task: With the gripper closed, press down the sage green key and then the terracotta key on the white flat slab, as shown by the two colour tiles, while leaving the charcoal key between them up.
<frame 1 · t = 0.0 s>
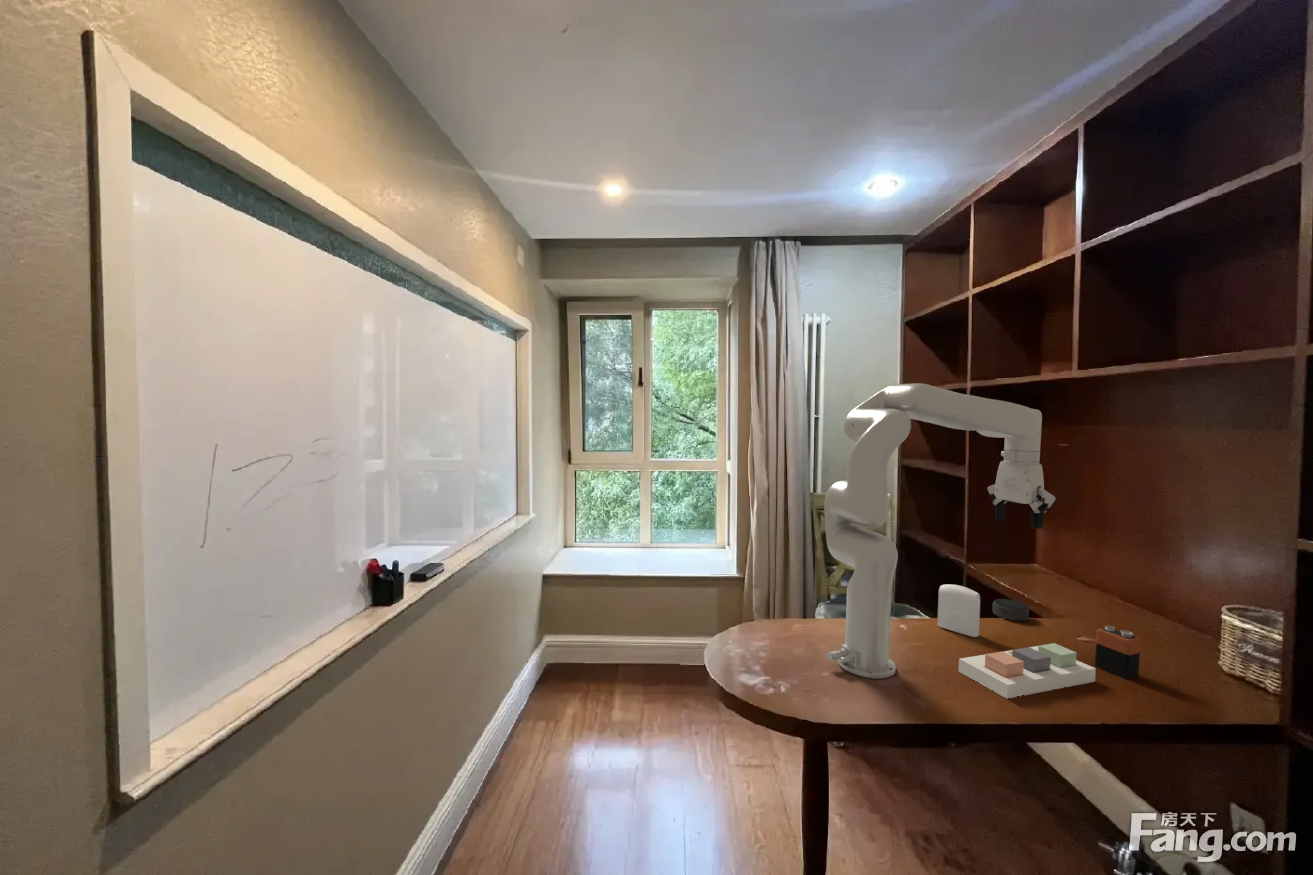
hand: (1017, 524, 136), 31 cm above the table, tool pointing down, fingers open, 9 cm apart
battery: (1115, 672, 124), on the table
terracotta key: (1003, 664, 117), point 4 cm above the table, slide at 0.0 cm
charcoal key: (1030, 660, 119), point 4 cm above the table, slide at 0.0 cm
sage key: (1056, 655, 122), point 4 cm above the table, slide at 0.0 cm
smart speaker: (1010, 617, 156), on the table
photo printer: (957, 631, 145), on the table
white flat slab: (1025, 676, 120), on the table
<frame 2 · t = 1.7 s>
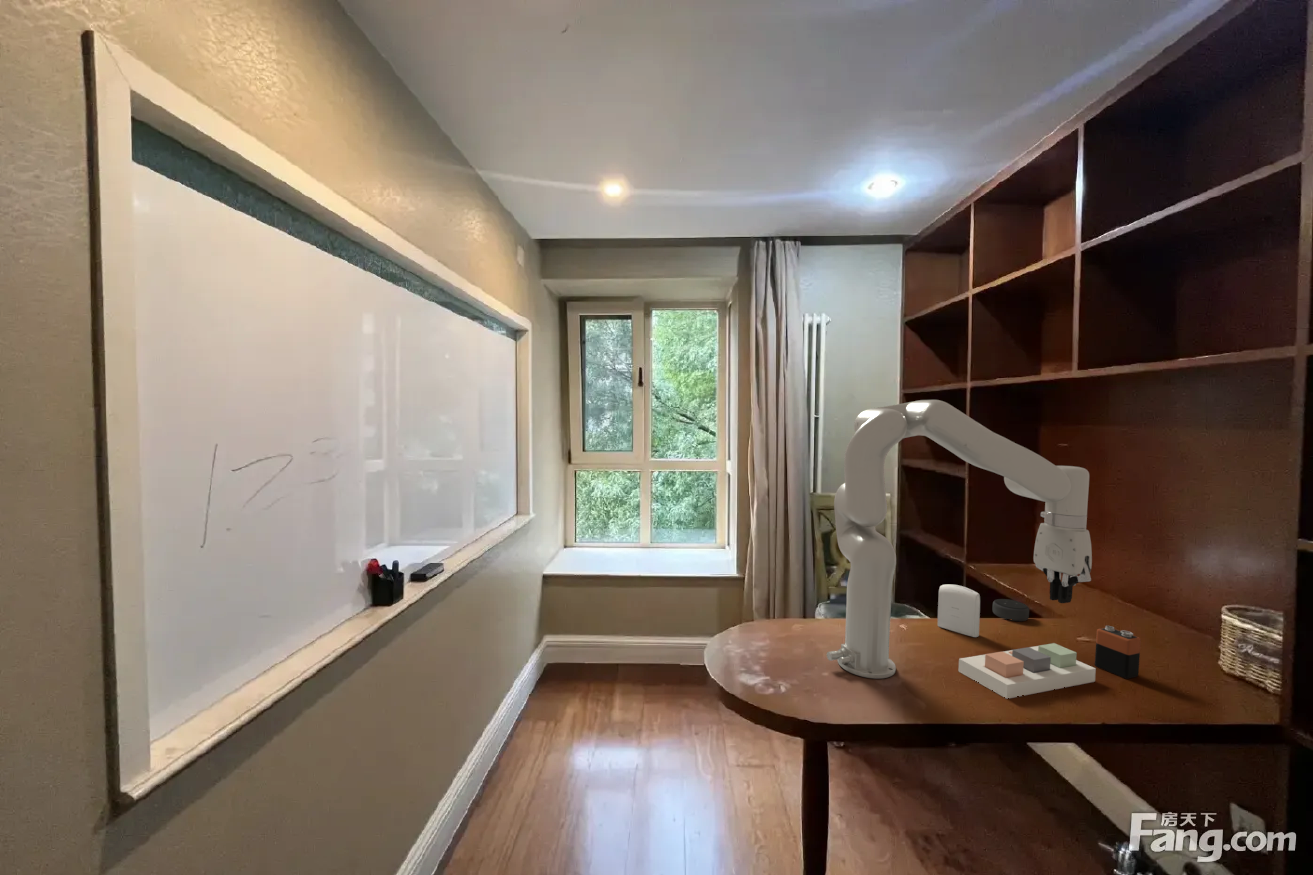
hand: (1060, 600, 121), 17 cm above the table, tool pointing down, fingers closed
nothing on the table moved.
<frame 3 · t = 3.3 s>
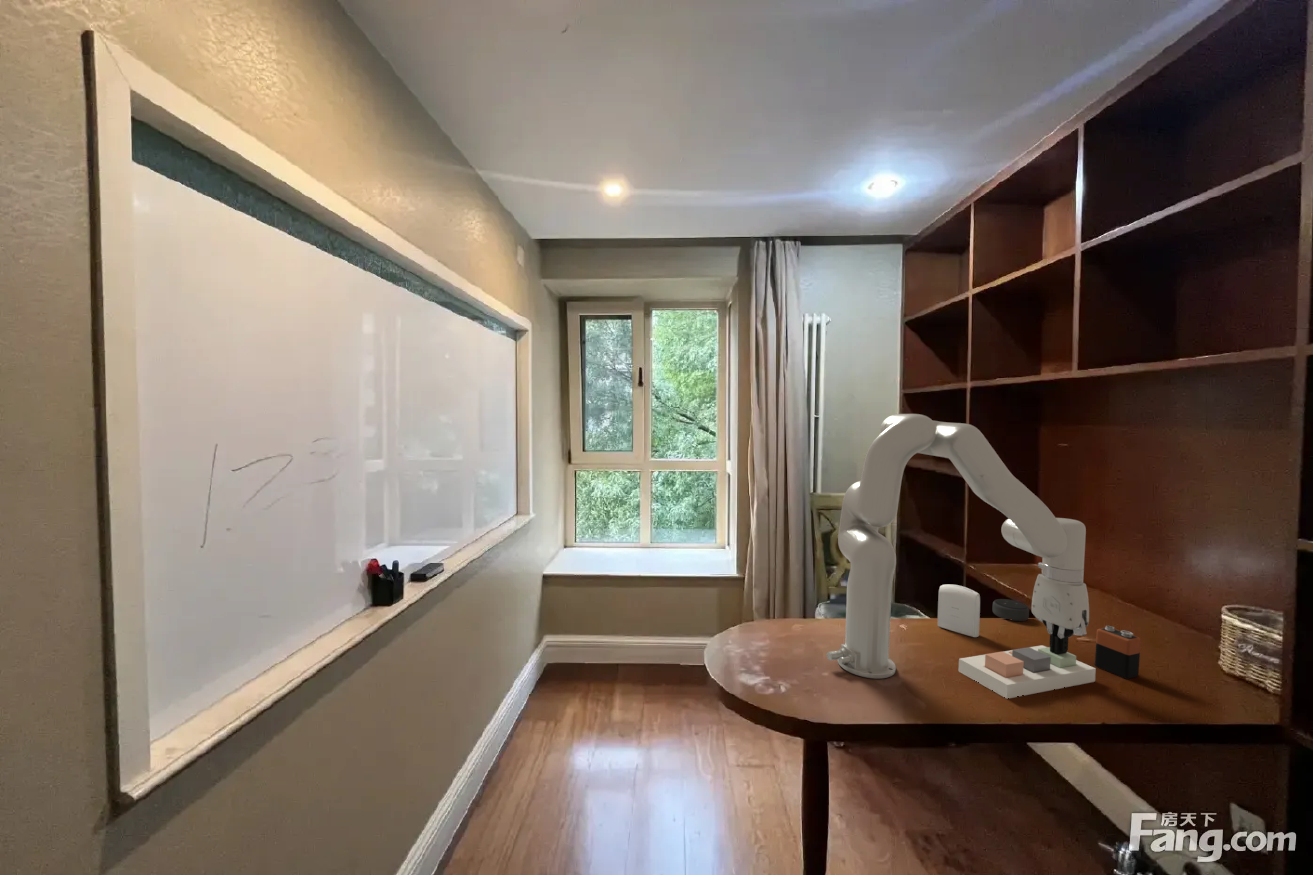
hand: (1058, 652, 122), 5 cm above the table, tool pointing down, fingers closed
sage key: (1056, 659, 122), point 3 cm above the table, slide at 0.8 cm, touching gripper
everything else where it was.
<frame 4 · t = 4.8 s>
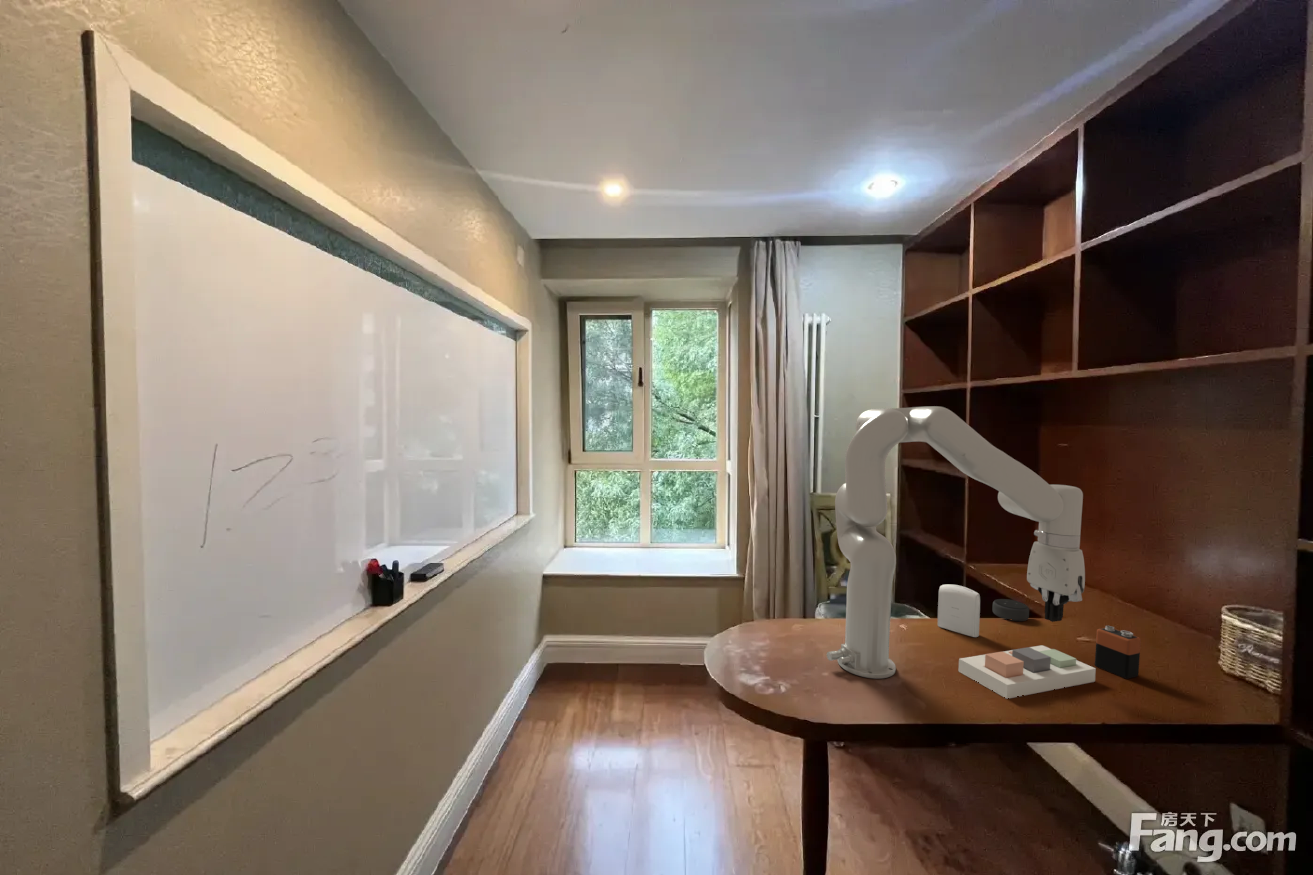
hand: (1053, 619, 121), 13 cm above the table, tool pointing down, fingers closed
sage key: (1056, 661, 122), point 3 cm above the table, slide at 1.4 cm
everything else where it was.
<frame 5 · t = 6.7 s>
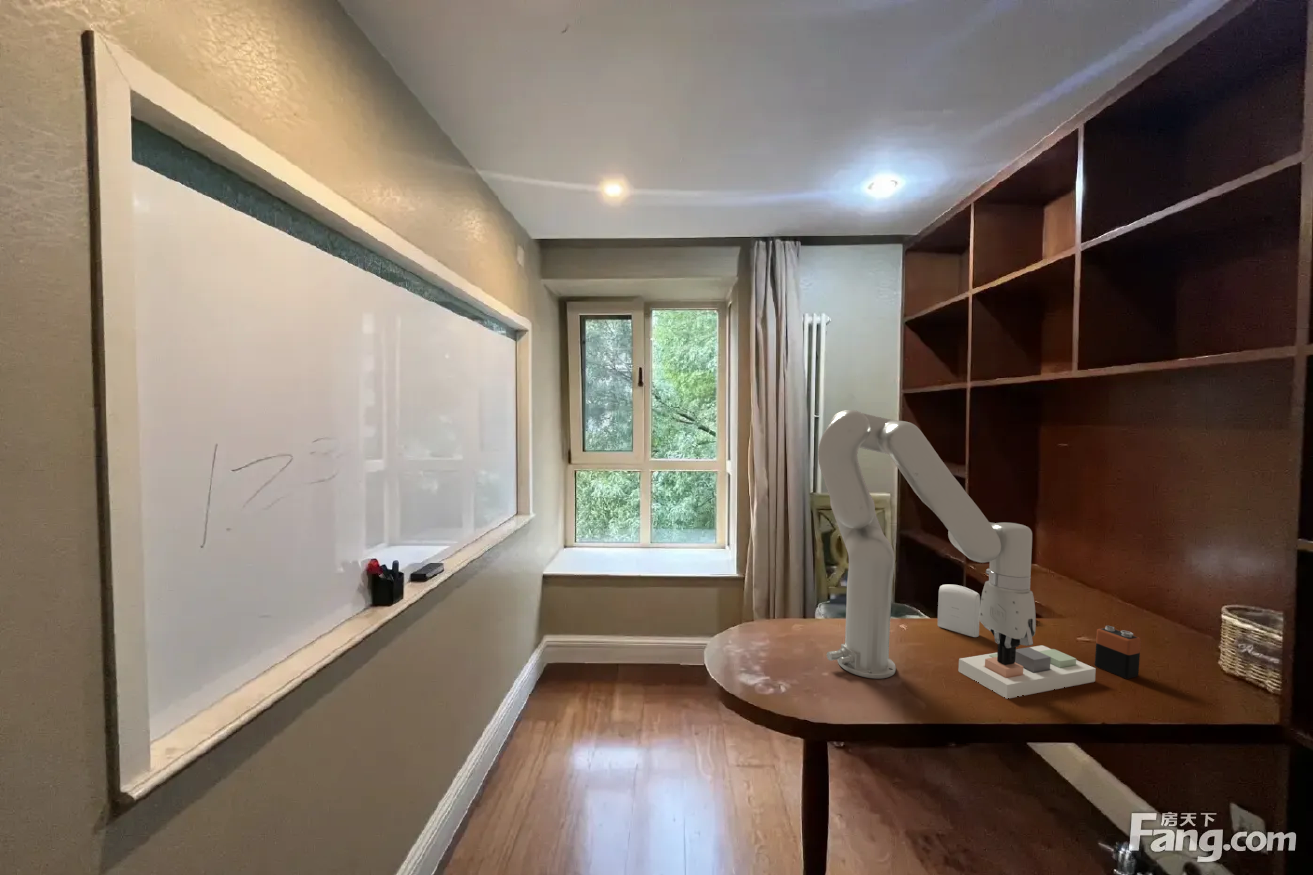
hand: (1006, 662, 117), 5 cm above the table, tool pointing down, fingers closed
terracotta key: (1003, 669, 117), point 3 cm above the table, slide at 1.1 cm, touching gripper
everything else where it was.
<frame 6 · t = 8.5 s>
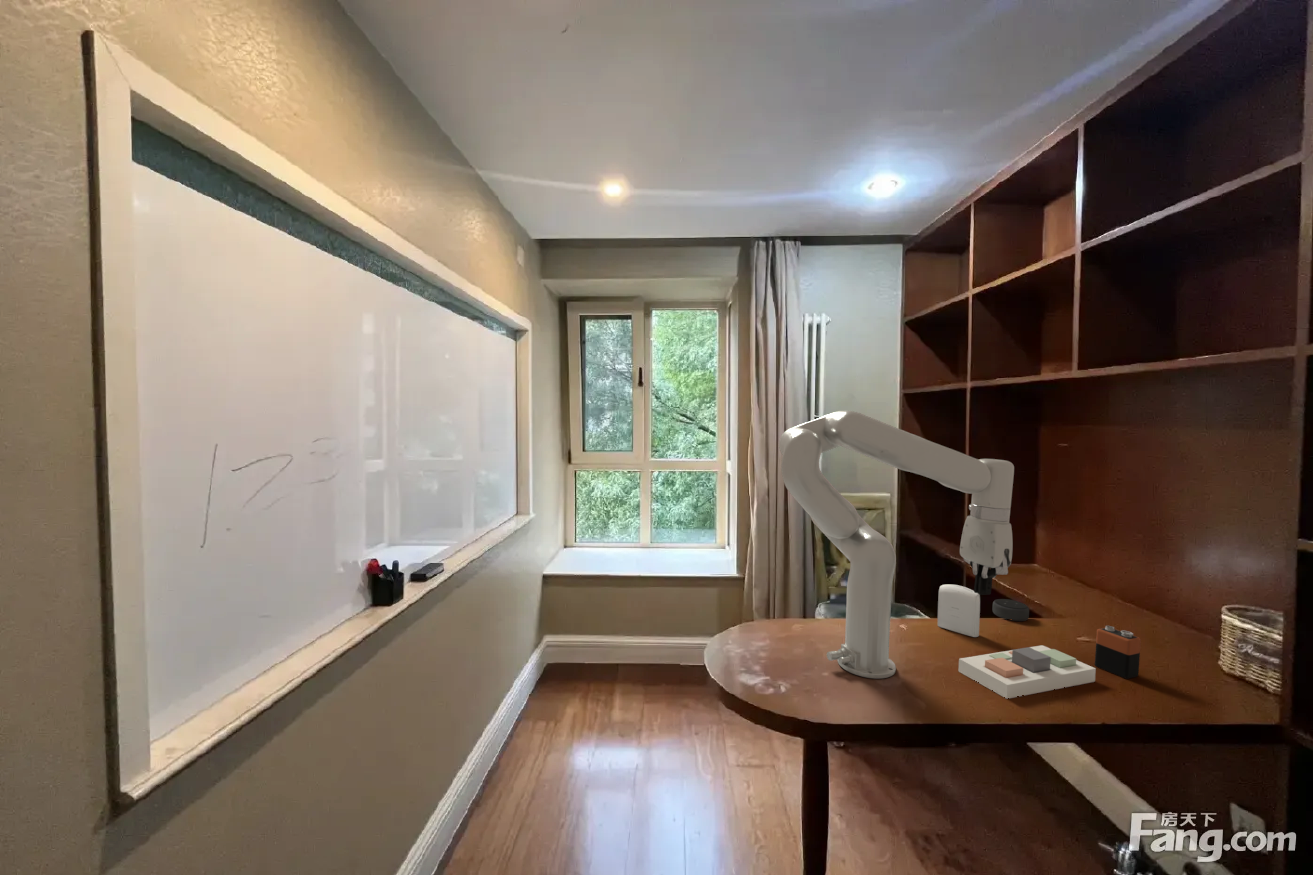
hand: (982, 593, 121), 18 cm above the table, tool pointing down, fingers closed
terracotta key: (1003, 671, 117), point 3 cm above the table, slide at 1.4 cm
everything else where it was.
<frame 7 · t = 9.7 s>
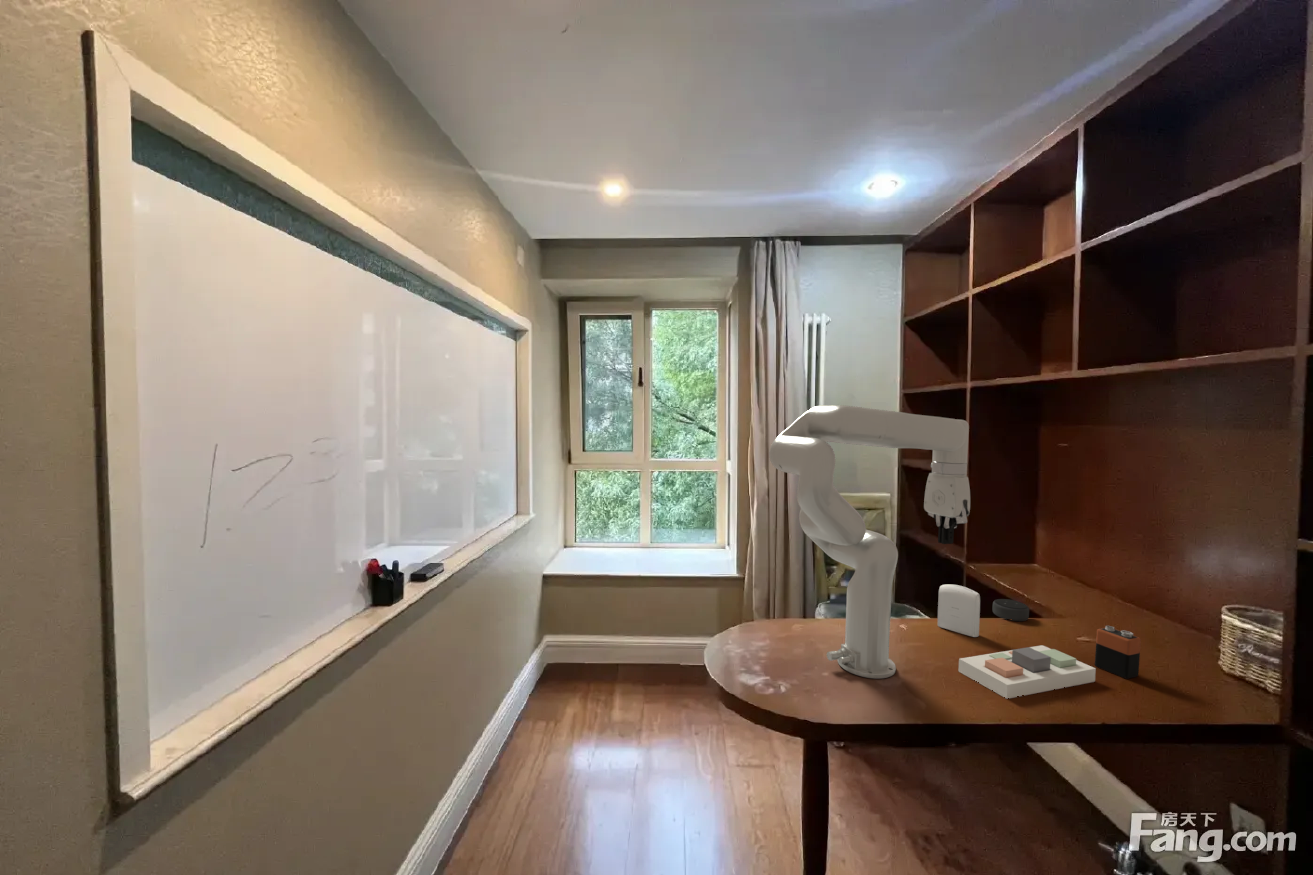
hand: (945, 542, 132), 27 cm above the table, tool pointing down, fingers closed
nothing on the table moved.
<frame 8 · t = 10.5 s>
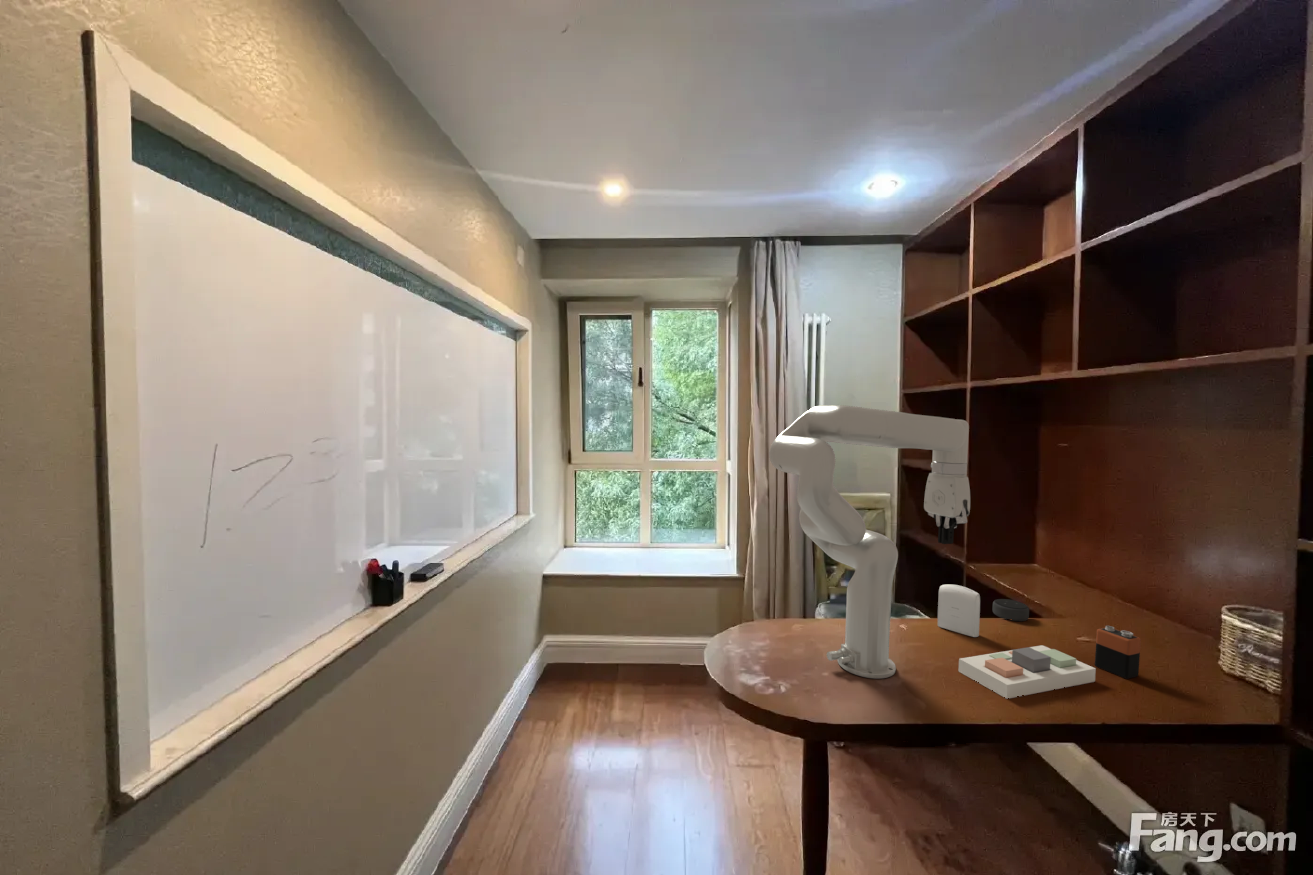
hand: (945, 542, 132), 27 cm above the table, tool pointing down, fingers closed
nothing on the table moved.
at the end: sage key slide at 1.4 cm; terracotta key slide at 1.4 cm; charcoal key slide at 0.0 cm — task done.
